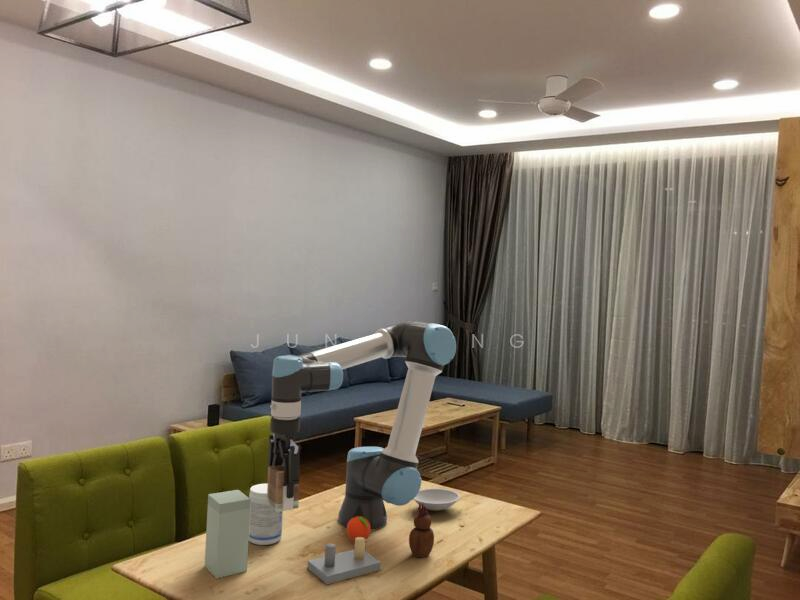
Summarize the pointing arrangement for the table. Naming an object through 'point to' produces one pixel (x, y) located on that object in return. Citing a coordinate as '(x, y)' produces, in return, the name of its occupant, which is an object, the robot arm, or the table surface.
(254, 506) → the supplement tub
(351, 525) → the clementine
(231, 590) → the table surface
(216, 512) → the tower
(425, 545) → the wooden figurine
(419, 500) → the dish
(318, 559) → the pin board
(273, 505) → the sleeve
